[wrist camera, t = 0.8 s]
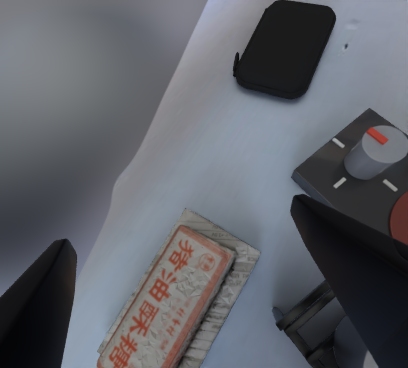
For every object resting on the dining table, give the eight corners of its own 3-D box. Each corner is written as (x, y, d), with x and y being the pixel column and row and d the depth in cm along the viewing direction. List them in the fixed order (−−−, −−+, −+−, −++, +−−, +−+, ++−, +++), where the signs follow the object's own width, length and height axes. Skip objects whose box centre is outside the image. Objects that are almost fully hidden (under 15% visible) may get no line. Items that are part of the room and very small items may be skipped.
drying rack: (475, 380, 20) (556, 423, 15) (387, 461, 20) (438, 536, 15) (342, 247, 25) (367, 243, 20) (270, 310, 25) (275, 323, 19)
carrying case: (263, 11, 37) (224, 88, 34) (264, -10, 34) (221, 72, 31) (336, 22, 34) (300, 108, 31) (343, 0, 31) (305, 93, 28)
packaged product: (155, 452, 19) (71, 365, 22) (173, 415, 24) (102, 348, 27) (263, 250, 22) (176, 199, 25) (261, 252, 27) (188, 208, 30)
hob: (518, 239, 23) (551, 236, 20) (433, 315, 22) (456, 322, 20) (360, 119, 29) (370, 106, 27) (290, 177, 29) (294, 169, 26)
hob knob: (390, 164, 24) (422, 142, 20) (364, 186, 24) (389, 169, 20) (361, 141, 26) (384, 115, 21) (336, 162, 26) (353, 141, 21)
